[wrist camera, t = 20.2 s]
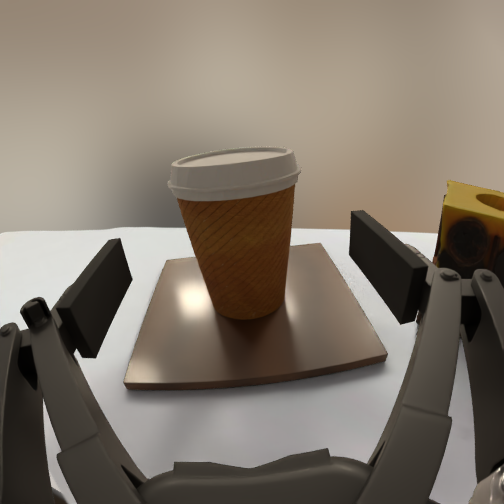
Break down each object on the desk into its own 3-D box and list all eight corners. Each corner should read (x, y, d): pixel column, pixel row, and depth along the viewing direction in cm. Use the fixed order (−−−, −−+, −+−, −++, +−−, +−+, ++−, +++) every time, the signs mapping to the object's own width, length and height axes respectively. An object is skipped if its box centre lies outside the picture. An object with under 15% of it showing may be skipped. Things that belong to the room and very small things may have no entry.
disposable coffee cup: (180, 332, 21) (140, 176, 16) (207, 270, 30) (188, 153, 24) (306, 333, 20) (305, 160, 15) (301, 267, 28) (296, 143, 23)
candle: (413, 326, 20) (438, 204, 15) (430, 269, 27) (443, 177, 22) (516, 354, 14) (564, 238, 9) (509, 290, 21) (532, 199, 16)
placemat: (126, 389, 17) (122, 382, 17) (167, 265, 33) (166, 259, 33) (385, 361, 17) (388, 353, 17) (320, 248, 34) (320, 242, 33)
